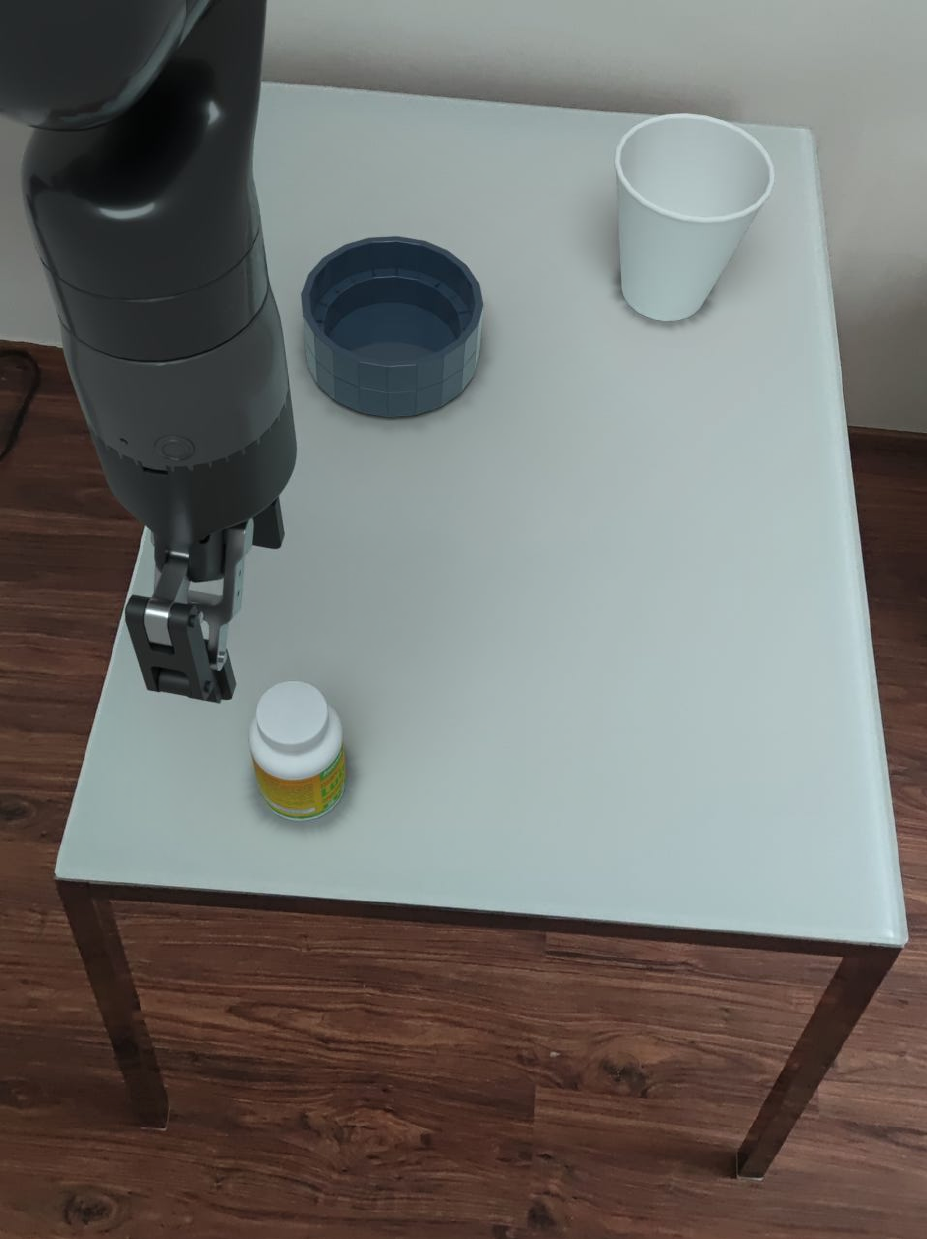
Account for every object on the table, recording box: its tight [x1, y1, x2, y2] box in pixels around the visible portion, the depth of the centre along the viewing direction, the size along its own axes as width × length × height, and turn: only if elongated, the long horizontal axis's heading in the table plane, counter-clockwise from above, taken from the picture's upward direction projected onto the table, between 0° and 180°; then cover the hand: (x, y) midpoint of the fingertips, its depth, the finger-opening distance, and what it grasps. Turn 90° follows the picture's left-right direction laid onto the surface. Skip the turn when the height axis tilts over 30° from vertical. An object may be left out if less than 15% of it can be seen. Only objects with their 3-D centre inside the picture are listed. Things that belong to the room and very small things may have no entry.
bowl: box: [300, 235, 484, 418], centre depth 92 cm, size 13×13×6 cm
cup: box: [613, 112, 776, 322], centre depth 94 cm, size 12×12×12 cm
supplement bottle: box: [248, 680, 347, 822], centre depth 71 cm, size 5×5×10 cm
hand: (238, 613), depth 58 cm, fingers open, 8 cm apart
